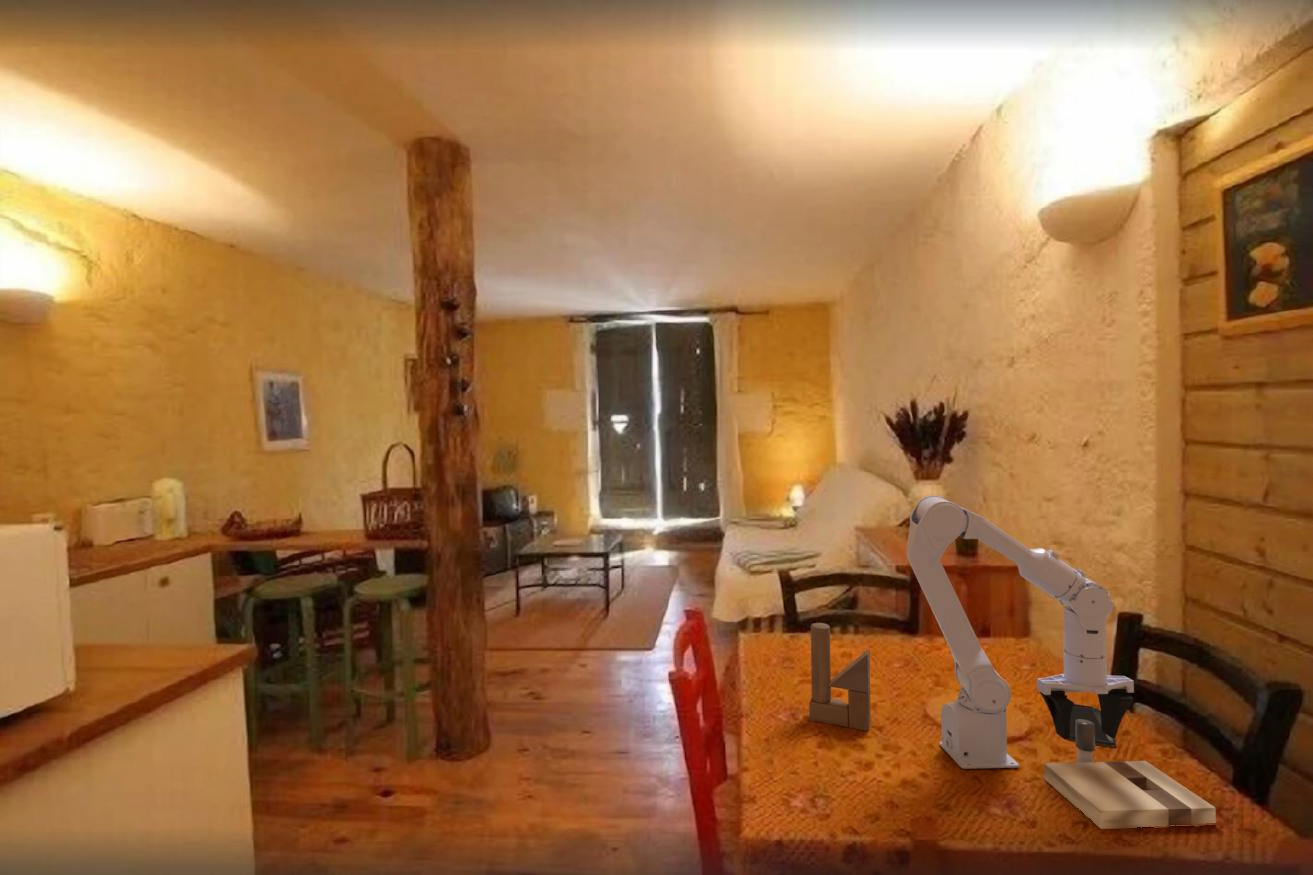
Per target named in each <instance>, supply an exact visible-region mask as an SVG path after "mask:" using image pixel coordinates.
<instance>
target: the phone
mask: <svg viewBox="0 0 1313 875" xmlns="http://www.w3.org/2000/svg"><path fill="white" fill-rule="evenodd" d="M1077 719H1084V720H1088V721H1091V722H1093V723H1094V724H1095V746H1102V747H1107V748H1113V747H1112V746H1116V747H1117V741H1116V738H1111V737H1109V736H1108V735H1106V734H1105V733H1103V732H1102V727H1101V709H1100V708H1097V707H1095V706H1089V705H1082V704H1076V703H1074V705H1073V708H1072V711H1071V716H1070V735H1069V739H1067V740H1068V741H1071V742H1076V731H1075V721H1076V720H1077Z"/></svg>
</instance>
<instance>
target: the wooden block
mask: <svg viewBox="0 0 1313 875" xmlns="http://www.w3.org/2000/svg"><path fill="white" fill-rule="evenodd" d="M870 650H871V649H870V648H868V649H867V650H865V651H864V652H863V653H862V654H860V655H859V656H858V657H857V658H856V659H854V660H853V661H851V662H850V663H849V664H848V665H847V666H846V667H845V668H843V669H842V670H841V671H840V672H839V673H837V674H836V675H835V676H833V677H831V674H832V672H831V668H832V667H831V626H830V625H829V624H827V623H823V622H816V623H815V622H814V623H811V625H810V663H811V664H810V665H811V666H810V669H811V671H810V672H811V682H810V683H811V684H810V685H811V699H810V701H809V704H808V705H809V708H808V711H809V712H808V713H809V721H812V722H818V723H823V724H829V725H834V726H838V727H840V726H841V727H843V728H844V727H845V728H848V727H849V728H850V729H855V730H860V731H865V732H869V731H870V727H871V723H872V720H871V718H872V717H871V687H870V686H871V664H870V663H871V661H870V660H871V658H870V657H871V653H870V652H871V651H870ZM831 688H837V689H841V690H842V689H843V690H847V691H848V692H847V696H848V697H847V700H848V701H847V702H848V703H846V702H845V701H843V700H842V699H838V698H832V690H831Z"/></svg>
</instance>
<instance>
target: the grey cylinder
mask: <svg viewBox="0 0 1313 875" xmlns="http://www.w3.org/2000/svg"><path fill="white" fill-rule="evenodd" d="M1075 731H1076V739H1075V740H1076V741H1075V747H1076V748H1077V763H1078V762H1094V751H1096V745H1095V724H1094V723H1093V722H1091V721H1088V720H1084V719H1077V720H1076V721H1075Z"/></svg>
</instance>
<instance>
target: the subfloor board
mask: <svg viewBox="0 0 1313 875" xmlns="http://www.w3.org/2000/svg"><path fill="white" fill-rule="evenodd" d="M1043 770H1044V771H1043V772H1044V780H1045V781H1046V782H1047V783H1048V784H1049V785H1050V786H1051V787H1053V788H1054V789H1055V790H1056V791H1057V792H1058V793H1059V794H1061V795H1062V796H1063V797H1064V798H1065V799H1066V798H1067V799H1066V800H1068V802H1070V803H1071V804H1072V805H1073V806H1074V807H1075V808H1076V809H1078V808H1079V809H1078V810H1079V811H1080V810H1081V811H1082V812H1083V813H1084V814H1083V813H1082V812H1081V811H1080V812H1081V813H1082V814H1083V815H1085V817H1087V818H1088V819H1089V818H1090V819H1091V820H1092V821H1093V822H1092V821H1091V820H1090V819H1089V820H1090V821H1091V822H1092V823H1093V824H1095V825H1096V826H1097V827H1098V828H1099V829H1101V830H1105V829H1106V830H1110V829H1114V830H1115V829H1138V828H1137V827H1141V828H1140V829H1143V828H1142V827H1149V826H1151V827H1153V826H1167V825H1169V826H1170V825H1175V826H1176V825H1198V824H1206V823H1216V824H1217V821H1216V820H1217V818H1216V817H1217V812H1216V811H1217V808H1216V807H1215V806H1214V805H1213V804H1211V803H1209V802H1208V801H1206V800H1205V799H1203V798H1202V797H1200V796H1198V795H1197V794H1196V793H1194V791H1193V792H1192V791H1190V789H1188V788H1187V787H1185V786H1184V785H1182V784H1180V783H1179V782H1178V781H1177V780H1175V779H1174V778H1172V777H1170V776H1169V775H1167V774H1166V773H1165V772H1163V771H1161V770H1160V769H1158V768H1157V767H1155V766H1154V765H1152V764H1151V763H1149V762H1148V761H1146V760H1135V761H1134V760H1132V761H1128V760H1126V761H1123V760H1121V761H1093V762H1078V761H1077V762H1051V763H1050V762H1047V763H1044V769H1043Z"/></svg>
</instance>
